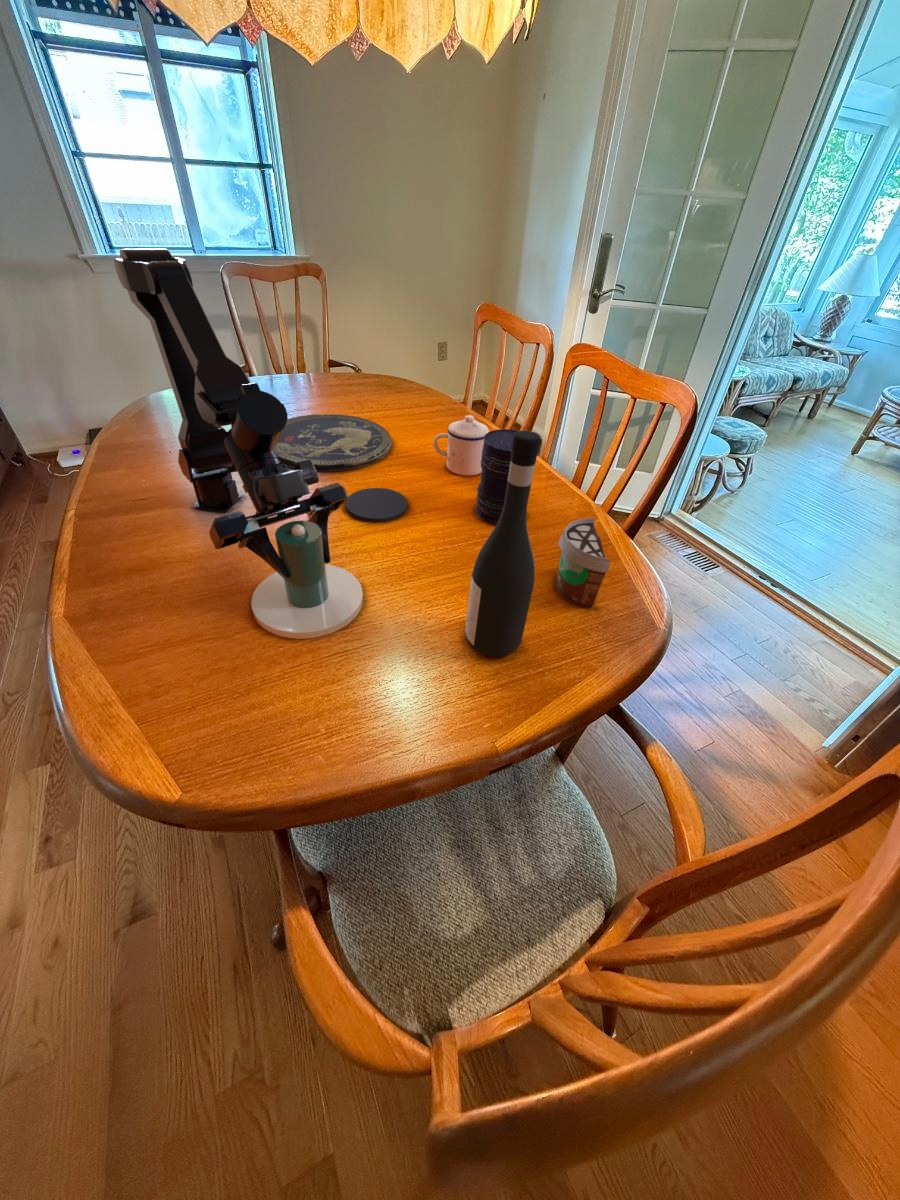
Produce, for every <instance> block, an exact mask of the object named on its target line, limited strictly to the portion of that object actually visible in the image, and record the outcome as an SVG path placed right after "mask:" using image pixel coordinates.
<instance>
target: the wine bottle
mask: <svg viewBox="0 0 900 1200" xmlns="http://www.w3.org/2000/svg"><path fill="white" fill-rule="evenodd" d="M541 445H542V436H541V435H540V434H539V433H537V432H535V431H532V430H527V429H525V430H524V429H523V430H522V429H521V430H517V432H515V433H514V434H513V437H512V443H511V450H512V451H511V453H512V454H511V461H510V468H509V475H508V481H507V488H506V495H505V501H504V507H503V510H502V513H501V516H500V518H499V521H498V522H497V524H496V525H494V527H493V529H492V531H491V533H490V534H489V536H488V537H487V539H486V540H485V542H484V543H483V545H482V547H481V549H480V550H479V553H478V555H477V557H476V559H475V562H474V566H473V569H472V573H471V578H470V585H469V586H470V587H469V594H468V595H469V596H468V604H467V612H466V619H465V620H466V622H465V629H464V634H465V639H466V641H467V643H468V645H469V646H470V647H471V649H473V651H475V652H477V653H479V655H482V656H486V657H488V658H489V657H491V658H502V657H507V656H509V655H511V654H512V653H514V652H516V651H517V650H518V648H519V647H520V645H521V643H522V639H523V636H524V632H525V628H526V627H525V626H526V623H527V618H528V613H529V609H530V605H531V601H532V595H533V592H534V587H535V579H536V577H535V576H536V575H535V574H536V563H535V557H534V552H533V548H532V544H531V540H530V536H529V532H528V525H527V524H528V523H527V509H528V503H529V499H530V498H529V497H530V492H531V487H532V483H533V477H534V472H535V468H536V463H537V462H536V461H537V458H538V454H539V453H540V450H541Z"/></svg>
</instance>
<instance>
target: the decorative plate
mask: <svg viewBox="0 0 900 1200" xmlns="http://www.w3.org/2000/svg"><path fill="white" fill-rule="evenodd" d="M391 449H392V438H391V435H390V434H389V431H388V430H387V429H386V428H384V426H382V425H380V424H378V423H377V422H374V421H372V420H370V419H367V418H364V417H360V416H354V415H348V414H339V413H314V414H313V413H312V414H305V415H299V416H293V417H290V418H288V419H287V424H286V426H285V428H284V430H283V432H282V435H281V437H280V439H279V441H278V443H277V445H276V447H275V448H274V450H275V453H276V455H277V457H278V459H279V461H280V463H281V462H284V464H285V465H286V467H287V468H288V467H289V468H292V469H295V468H294V463H295V462H299V461H303V460H307V459H310V460H311V461H312V463H313V465H314V467H315V469H316V471H317V472H324V473H325V472H329V473H331V472H342V471H350V470H355V469H359V468H363V467H367V466H370V465H372V464H374V463H377V462H378V461H380V460H382V459H383V458H385V457H386V456H387V455H388V454H389V453H390V451H391Z"/></svg>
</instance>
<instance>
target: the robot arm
mask: <svg viewBox="0 0 900 1200" xmlns="http://www.w3.org/2000/svg"><path fill="white" fill-rule="evenodd" d="M119 257H120V258H113V263H114V268H115V272H116V275H117V277H118V280H119V282H120V284H121V286H122V287H123V289H125V290H126V291H127V294H128V296H129V299H130V302H131V303H132V304H134V306H135V307H136V308H137V309H138V310H139V311H140V312H141V313H142V314H143V315H144V316H145V318H147V319H148V321H149V323H150V325H151V329H152V331H153V335H154V337H155V340H156V344H157V346H158V347H157V348H158V349H159V353H160V355H161V359H162V362H163V364H164V368H165V371H166V373H167V377H168V380H169V383H170V386H171V389H172V391H173V392H172V393H173V395H174V397H175V401H176V403H177V407H178V411H179V413H180V417H181V419H182V420H181V424H180V428H179V431H178V434H177V438H178V443H179V446H180V448H179V449H178V460H177V463H178V465H179V468H180V471H181V473H182V475H183V477H185V478H186V479H187V480H188V481H189V483H190V484H192V487H193V490H194V493H195V496H196V500H197V501H196V502H195V503H194V504H193V505H192V506H193V508H194V509H196V510H197V509H198V510H204V511H212V512H218V513H223V514H224V513H227V512H229V510H231V509H232V507H234V506H235V505H236V504H237V503H238V502H239V501H240V500H241V499H242V498H243V496H242V494H241V493H239V491H238V488H237V484H236V483H237V482H236V480H235V479H234V478H233V474H232V473H238V475H239V478H240V481H241V483H242V489H243V490H244V492H245V494H247V495H248V496H249V499H250V501H251V503H252V505H253V507H254V509H255V514H252V515H249V516H246V515H245V513H244V512H243V511H242V510H238V511H235V512H232V513H228V514H225V515H221V516H217V517H215V518H214V519H213V521H212V523H211V525H210V529H209V532H208V534H209V538H210V540H211V543H212V544H213V546H214V548H215V550H221V549H224V548H227V547H230V546H233V545H236V544H237V547H238V549H245V548H247V549H248V550H249V551H251V552H252V553H253V554H255V555H256V556H258V557H259V558H260V559H262V560H263V561H264V562H265V563H266V564H267V565H268V566H270V567H271V569H273V570H274V571H275V572H277V573H278V574H280V575H281V576H282V577H283V578H284V579H285V580H286V579H288V578H289V575H288V573H287V570H286V568H285V566H284V564H283V562H282V561H281V559H280V557H279V553H278V551H277V550H276V549H275V546H274V545H273V543H272V541H271V539H270V536H269V534H268V533H269V532H268V530H267V527H268V526H270V525H274V524H278V523H280V522H284V521H287V520H289V519H292V518H295V517H299V516H302V515H305V514H306V516H307V518H308V519H307V521H309V522H313V523H315V524H317V525H318V526H319V527H320V528H321V533H322V541H323V549H324V557H325V564H328V565H329V564H330V563H331V553H330V543H329V533H328V523H329V517H330V515H332V513H334V512H336V511H338V510H340V508H341V507H342V506H343V505H344V504H346V503H345V502H346V501H347V500H348V499H349V496H350V495H349V494H348V491H347V490H346V487H344V486H343V485H342V484H340V483H339V482H333V483H330V484H328V485H324V486H320V487H317V488H315V490H314V491H313V493H312V494H311V491H310V489H309V486H312V485H314V484H318V483H319V482H320V481H319V480H320V477H319V475H318V471H316V469H315V467H314V465H313V463H312V461H311V460H310V459H307V460H303V461H299V462H295V463H294V468H293V470H289V469H288V466H286V465H285V464H284V462H281V463H280V461H279V459H278V457H277V455H276V453H275V450H274V448H275V447H276V445H277V443H278V441H279V439H280V437H281V435H282V432H283V430H284V428H285V426H286V424H287V419H289V418H288V412H287V408H286V406H285V404H284V403H282V402H281V401H280V399H278V398H277V397H276V396H274V395H273V394H272V393H269V392H267V391H263V390H261V388H260V386H259V384H258V383H257V382H251V381H250V379H249V377H248V376H247V374H246V372H245V370H244V368H243V367H242V366H240V365H239V364H238V363H236V362H235V361H233V360H232V359H231V358H229V357H228V356H227V355H226V352H225V351H224V349H223V346H222V344H221V343H220V341H219V339H218V337H217V334H216V332H215V331H214V328H213V327H212V324H211V322H210V320H209V318H208V316H207V314H206V312H205V310H204V308H203V306H202V304H201V301H200V300H199V297H198V296H197V293H196V292H195V288H194V284H193V279H192V276H191V273H190V270H189V268H188V266H187V262H186V259H185V258H180V257H173V256H172V253H171V252H170V251H169V249H167V248H120V250H119ZM225 426H230V428H229V430H228V431H227V430H226V429H225ZM310 494H311V495H310ZM307 495H310V496H309V498H305V499H302V497H303V496H307ZM299 499H302V500H299Z"/></svg>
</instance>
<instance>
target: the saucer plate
mask: <svg viewBox="0 0 900 1200" xmlns="http://www.w3.org/2000/svg"><path fill="white" fill-rule="evenodd" d="M325 566H326V574H327V582H328V590H329V595H328V598H327V599H326V601H325V602H323V603H322V604H320V605H318V606H316V607H312V608H299V607H295V606H293V605H292V604H290V603H289V601H288V599H287V595H286V589H285V584H284V579H283V577H282V576H281V575H280V574H278V573H277V572H276V571H275V572H274V573H272V574H270V575H268V576H267V577H266V578H264V579H263V580H262V581H261V582H260V583H259V584H258V585H257V586H256V588H255V589H254V591H253V593H252V596H251V602H250V606H251V610H252V614H253V617H254V619H255V621H256V622H257V623H258V625H259V626H260V627H261V628H263V629H264V630H266V631H267V632H268V633H271V634H273V635H275V636H279V637H283V638H288V639H295V640H296V639H297V640H298V639H301V640H303V639H305V640H306V639H314V638H319V637H324V636H326V635H330V634H332V633H335V632H337V631H339V630H341V629H343V628H344V627H346V626H347V625H349V624H350V623H352V622H353V621H354V619H355V618H356V617H357V616H358V615H359V613H360V611H361V609H362V608H363V601H364V594H363V586H362V585H361V583H360V581H359V580H358V578H357V577H356V576H355V575H354V574H352V573H351V572H350V571H348V570H346V569H344V568H342V567H339V566H337V565H333V564H329V563H328V564H326V563H325Z"/></svg>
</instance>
